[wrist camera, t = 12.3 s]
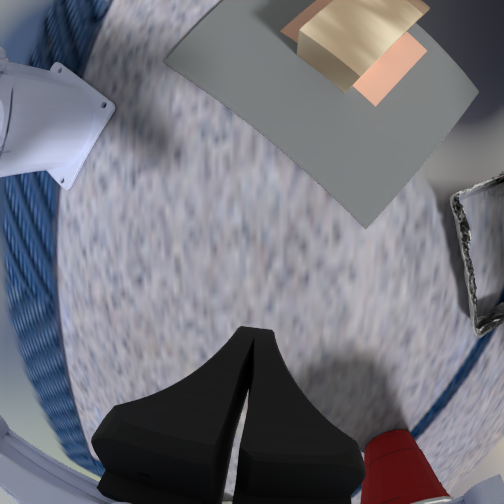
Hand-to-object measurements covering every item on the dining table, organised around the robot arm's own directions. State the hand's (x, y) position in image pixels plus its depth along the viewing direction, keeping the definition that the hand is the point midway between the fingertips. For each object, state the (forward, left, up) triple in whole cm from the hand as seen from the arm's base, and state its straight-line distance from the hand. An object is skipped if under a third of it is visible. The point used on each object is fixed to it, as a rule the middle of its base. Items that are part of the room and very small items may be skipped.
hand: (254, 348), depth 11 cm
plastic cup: (+25, -7, -10) cm, 28 cm away
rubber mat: (-6, +14, -9) cm, 18 cm away
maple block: (-6, +12, -7) cm, 15 cm away
